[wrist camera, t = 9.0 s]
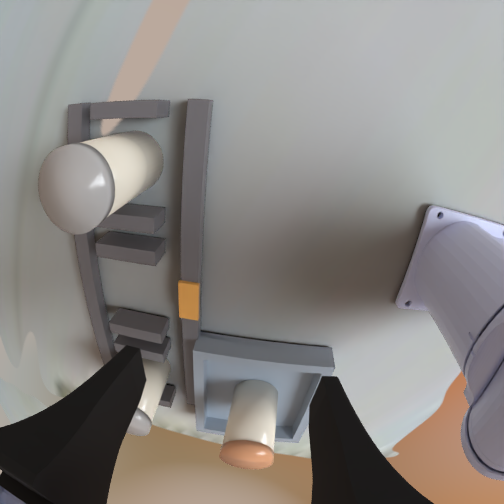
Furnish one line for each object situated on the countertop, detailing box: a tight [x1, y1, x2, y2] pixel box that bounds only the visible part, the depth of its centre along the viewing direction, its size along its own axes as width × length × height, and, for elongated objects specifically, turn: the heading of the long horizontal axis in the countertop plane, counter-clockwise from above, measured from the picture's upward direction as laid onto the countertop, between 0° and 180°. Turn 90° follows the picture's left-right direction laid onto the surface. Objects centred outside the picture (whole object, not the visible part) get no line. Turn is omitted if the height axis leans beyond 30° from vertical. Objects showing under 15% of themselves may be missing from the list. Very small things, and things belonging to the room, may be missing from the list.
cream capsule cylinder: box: [38, 131, 163, 234], centre depth 14 cm, size 4×4×7 cm
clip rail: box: [68, 99, 213, 408], centre depth 20 cm, size 10×26×2 cm, turn 174°
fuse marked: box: [220, 380, 278, 469], centre depth 22 cm, size 4×4×7 cm
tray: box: [193, 331, 335, 443], centre depth 25 cm, size 11×13×2 cm
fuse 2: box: [126, 358, 171, 436], centre depth 22 cm, size 4×4×7 cm
